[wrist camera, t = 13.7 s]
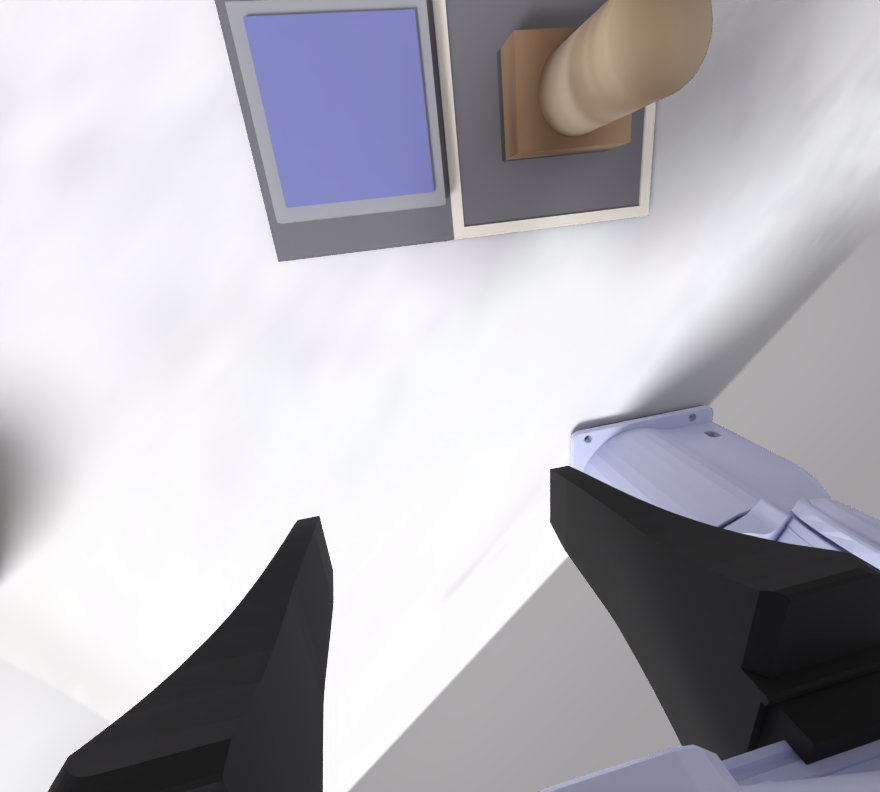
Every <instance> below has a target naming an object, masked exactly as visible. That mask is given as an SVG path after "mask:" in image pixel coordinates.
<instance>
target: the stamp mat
mask: <svg viewBox="0 0 880 792" xmlns="http://www.w3.org/2000/svg"><path fill="white" fill-rule="evenodd" d="M607 1H608V0H215V3H216V7H217V11H218V15H219V20H220V24H221V28H222V32H223V36H224V40H225V44H226V48H227V52H228V56H229V61H230V65H231V69H232V73H233V77H234V81H235V85H236V89H237V93H238V97H239V102H240V106H241V110H242V114H243V118H244V122H245V126H246V130H247V134H248V138H249V142H250V147H251V151H252V155H253V159H254V163H255V167H256V171H257V175H258V179H259V183H260V188H261V192H262V196H263V200H264V204H265V208H266V212H267V216H268V220H269V224H270V229H271V233H272V237H273V241H274V245H275V249H276V253H277V257H278V261H279V262H281V261H289V260H297V259H305V258H313V257H321V256H329V255H337V254H345V253H353V252H361V251H369V250H377V249H385V248H393V247H401V246H409V245H417V244H425V243H433V242H441V241H449V240H457V239H465V238H473V237H481V236H489V235H497V234H505V233H513V232H521V231H530V230H538V229H546V228H554V227H562V226H570V225H578V224H586V223H594V222H602V221H610V220H618V219H626V218H634V217H642V216H648V215H649V200H650V185H651V171H652V156H653V141H654V126H655V111H656V102H654V103H652V104H650V105H647V106H645V107H643V108H641V109H639V110H637V111H634V112H632V120H631V140H630V143H627V144H624V145H621V146H619V147H616V148H613V149H610V150H607V151H605V152H596V153H586V154H576V155H566V156H556V157H546V158H536V159H526V160H515V161H505V162H502V150H501V130H500V110H499V90H498V71H497V52H498V50H499V49H500V48H501V47H502V45H503V44H504V43H505V41H506V40H507V39H508V37H509V36H510V35H511V34H512V32H513V31H514V30H531V29H550V28H570V27H580V26H581V25H582V24H583V23H584V22H585V21H586V20H587V19H589V18H590V17H591V16H592V15H593V14H594V13H595V12H596V11H597V10H598V9H599V8H600V7H601V6H602V5H603V4H605V3H606V2H607Z"/></svg>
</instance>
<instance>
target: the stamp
mask: <svg viewBox="0 0 880 792" xmlns="http://www.w3.org/2000/svg"><path fill="white" fill-rule="evenodd" d="M711 32H712V7H711V1H710V0H608V1H607V2H606V3H605V4H603V5H602V6H601V7H600V8H599V9H598V10H597V11H596V12H595V13H594V14H593V15H592V16H591V17H590V18H589V19H587V20H586V21H585V22H584V23H583V24H582V25H581V26H580V27H570V28H550V29H531V30H514V31H513V32H512V34H511V35H510V36H509V37H508V39H507V40H506V41H505V43H504V44H503V45H502V47H501V48H500V49H499V50H498V52H497V71H498V90H499V110H500V130H501V150H502V162H505V161H515V160H526V159H536V158H546V157H556V156H566V155H576V154H586V153H596V152H605V151H607V150H610V149H613V148H616V147H619V146H621V145H624V144H627V143H630V140H631V120H632V112H634V111H637V110H639V109H641V108H643V107H645V106H647V105H650V104H652V103H654V102H656V101H658V100H660V99H663V98H665V97H667V96H669V95H671V94H673V93H675V92H677V91H678V90H680V89H681V88H683V87H684V86H685V85H686V84H687V83H688V82H689V81H690V80H691V79H692V78H693V76H694V75H695V74H696V72H697V71H698V69H699V67H700V66H701V64H702V62H703V60H704V57H705V55H706V52H707V49H708V47H709V42H710V38H711Z"/></svg>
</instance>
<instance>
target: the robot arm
mask: <svg viewBox="0 0 880 792" xmlns="http://www.w3.org/2000/svg"><path fill="white" fill-rule="evenodd" d="M690 415H691V417H690V418H689V416H690ZM712 418H713V410H712V408H710V407H708V406H704V405H703V406H698V407H693V408H688V409H683V410H679V411H674V412H669V413H664V414H659V415H654V416H649V417H644V418H639V419H634V420H629V421H624V422H619V423H614V424H609V425H604V426H599V427H594V428H589V429H584V430H579V431H576V432H574V433H573V434H572V435H571V437H570V466H565V467H560V468H555V469H550V522H551V524H552V526H553V528H554V530H555V532H556V534H557V536H558V538H559V540H560V542H561V544H562V545H563V547H564V549H565V551H566V552H567V554H568V555H569V557H570V558H571V559H572V561H573V562H574V564H575V565H576V566H577V568H578V569H579V571H580V572H581V574H582V575H583V576H584V577H585V579H586V581H587V582H588V583H589V585H590V586H591V588H592V589H593V590H594V592H595V593H596V595H597V596H598V597H599V599H600V600H601V602H602V603H603V604H604V606H605V607H606V609H607V610H608V612H609V613H610V615H611V616H612V618H613V619H614V621H615V622H616V624H617V626H618V627H619V629H620V631H621V632H622V634H623V636H624V638H625V639H626V641H627V643H628V645H629V646H630V648H631V650H632V652H633V653H634V655H635V657H636V659H637V660H638V662H639V664H640V666H641V668H642V670H643V671H644V673H645V675H646V677H647V679H648V681H649V682H650V684H651V686H652V688H653V690H654V692H655V694H656V696H657V698H658V699H659V701H660V703H661V705H662V707H663V709H664V711H665V713H666V715H667V717H668V719H669V721H670V723H671V725H672V727H673V728H674V731H675V733H676V734H677V736H678V738H679V741H680V743H681V745H682V746H680V747H673V748H668V749H665V750H662V751H659V752H656V753H653V754H649V755H646V756H643V757H640V758H637V759H634V760H631V761H628V762H625V763H622V764H619V765H615V766H612V767H609V768H606V769H603V770H600V771H597V772H594V773H591V774H588V775H584V776H582V777H578V778H575V779H572V780H569V781H566V782H563V783H560V784H557V785H553V786H550V787H547V788H545V789H543V790H541V791H539V792H880V520H879V519H876V518H874V517H872V516H870V515H868V514H866V513H864V512H862V511H859V510H857V509H855V508H853V507H851V506H848V505H846V504H844V503H841V502H839V501H836V500H834V499H831V497H830V496H829V494H828V493H827V491H826V490H825V489H824V488H823V486H822V485H821V484H820V483H819V482H818V481H817V480H816V479H815V478H814V477H813V476H812V475H811V474H810V473H808V472H807V471H806V470H804V469H803V468H802V467H800V466H798V465H797V464H795V463H793V462H791V461H789V460H787V459H785V458H783V457H781V456H779V455H777V454H775V453H773V452H771V451H769V450H767V449H765V448H763V447H761V446H759V445H757V444H755V443H753V442H751V441H749V440H747V439H745V438H743V437H741V436H739V435H737V434H735V433H733V432H731V431H729V430H727V429H725V428H723V427H721V426H719V425H717V424H715V423H713V422H712ZM588 435H589V437H588V439H586V440H584V439H585V437H586V436H588ZM332 612H333V569H332V565H331V561H330V557H329V553H328V549H327V545H326V541H325V537H324V533H323V529H322V525H321V521H320V517H319V516H317V517H312V518H307V519H302V520H298V521H297V522H296V523H295V525H294V526H293V528H292V529H291V531H290V533H289V534H288V536H287V537H286V539H285V541H284V542H283V544H282V545H281V547H280V548H279V550H278V551H277V553H276V554H275V556H274V557H273V559H272V560H271V562H270V563H269V565H268V566H267V568H266V569H265V570H264V572H263V573H262V575H261V576H260V578H259V579H258V580H257V582H256V583H255V584H254V586H253V587H252V588H251V589H250V591H249V592H248V593H247V595H246V596H245V597H244V599H243V600H242V601H241V602H240V604H239V605H238V606H237V607H236V609H235V610H234V611H233V612H232V613H231V615H230V616H229V617H228V618H227V619H226V620H225V621H224V622H223V623H222V625H221V626H220V627H219V628H218V629H217V630H216V631H215V632H214V633H213V634H212V635H211V636H210V638H209V639H207V640H206V641H205V642H204V643H203V644H202V645H201V646H200V647H199V648H198V649H197V650H196V651H195V652H194V653H193V654H192V655H191V656H190V657H189V658H188V659H187V660H186V661H185V662H184V663H183V664H182V665H181V666H180V667H179V668H178V669H177V670H176V671H175V672H173V673H172V674H171V675H170V676H169V677H168V678H167V679H166V680H164V681H163V682H162V683H161V684H160V685H159V686H158V687H157V688H155V689H154V690H153V691H152V692H151V693H150V694H148V695H147V696H146V697H145V698H144V699H142V700H141V701H140V702H139V703H138V704H137V705H135V706H134V707H133V708H132V709H130V710H129V711H128V712H127V713H125V714H124V715H123V716H122V717H120V718H119V719H118V720H116V721H115V722H114V723H113V724H111V725H110V726H109V727H107V728H106V729H105V730H104V731H102V732H101V733H100V734H98V735H97V736H96V737H94V738H93V739H92V740H90V741H89V742H88V743H86V744H85V745H84V746H82V747H81V748H80V749H78V750H77V751H76V752H74V753H73V754H72V755H70V756H69V757H68V758H67V760H66V762H65V763H64V765H63V767H62V768H61V770H60V772H59V773H58V775H57V777H56V778H55V780H54V782H53V783H52V785H51V787H50V789H49V791H48V792H323V702H324V688H325V677H326V668H327V659H328V649H329V640H330V631H331V621H332Z"/></svg>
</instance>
